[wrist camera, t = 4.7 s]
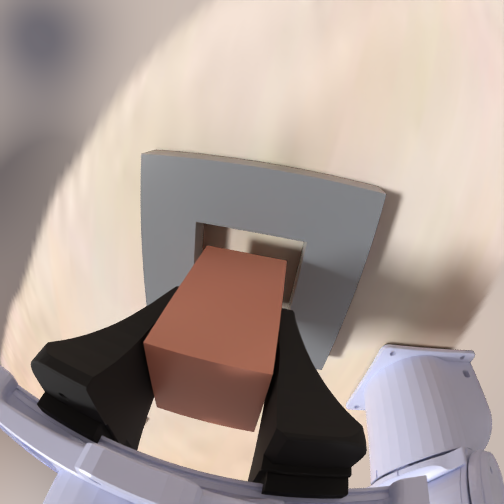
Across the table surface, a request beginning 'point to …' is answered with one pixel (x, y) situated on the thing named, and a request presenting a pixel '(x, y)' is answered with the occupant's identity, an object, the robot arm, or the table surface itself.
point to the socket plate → (261, 228)
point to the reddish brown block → (219, 339)
